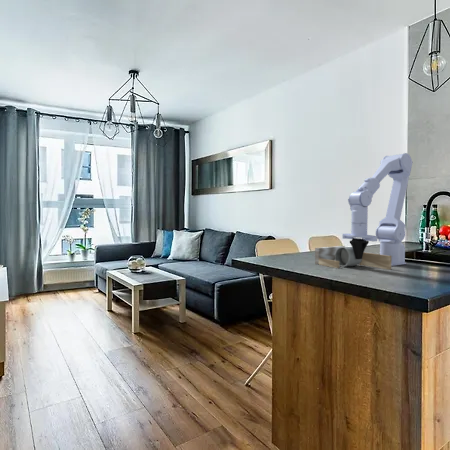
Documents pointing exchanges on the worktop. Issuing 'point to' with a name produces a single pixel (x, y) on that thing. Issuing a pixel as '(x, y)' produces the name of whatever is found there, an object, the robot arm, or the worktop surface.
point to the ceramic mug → (346, 257)
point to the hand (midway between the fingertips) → (358, 258)
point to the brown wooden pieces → (369, 259)
